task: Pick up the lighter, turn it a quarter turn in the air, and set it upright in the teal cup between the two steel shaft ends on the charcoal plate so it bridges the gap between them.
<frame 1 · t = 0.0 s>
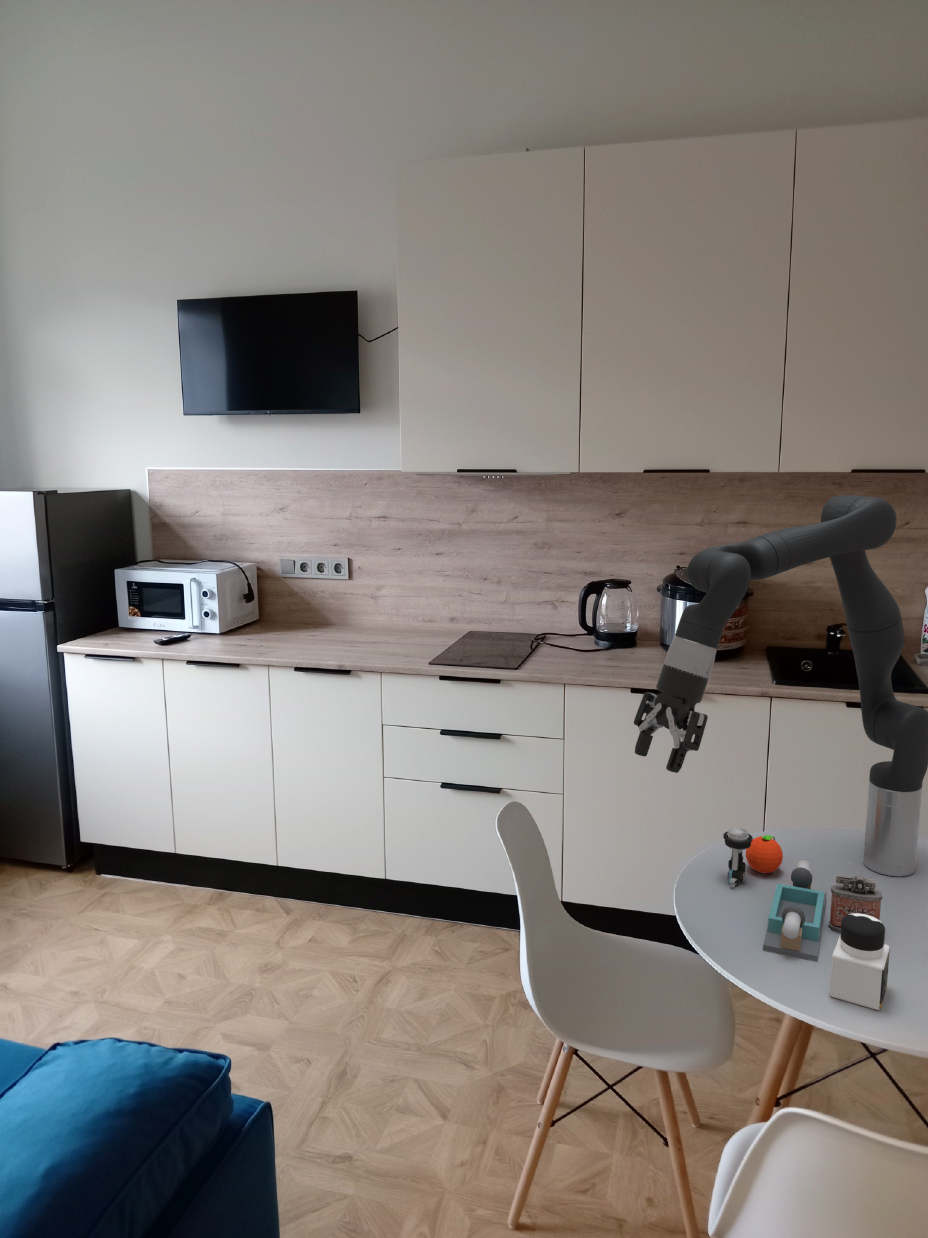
hand: (655, 763, 147), 31 cm above the table, tool tilted 20°, fingers open, 8 cm apart
clementine: (764, 871, 176), on the table
shaft cradle: (796, 923, 157), on the table
lighter: (853, 931, 154), on the table
push button: (735, 882, 171), on the table
medicine bottle: (858, 993, 137), on the table
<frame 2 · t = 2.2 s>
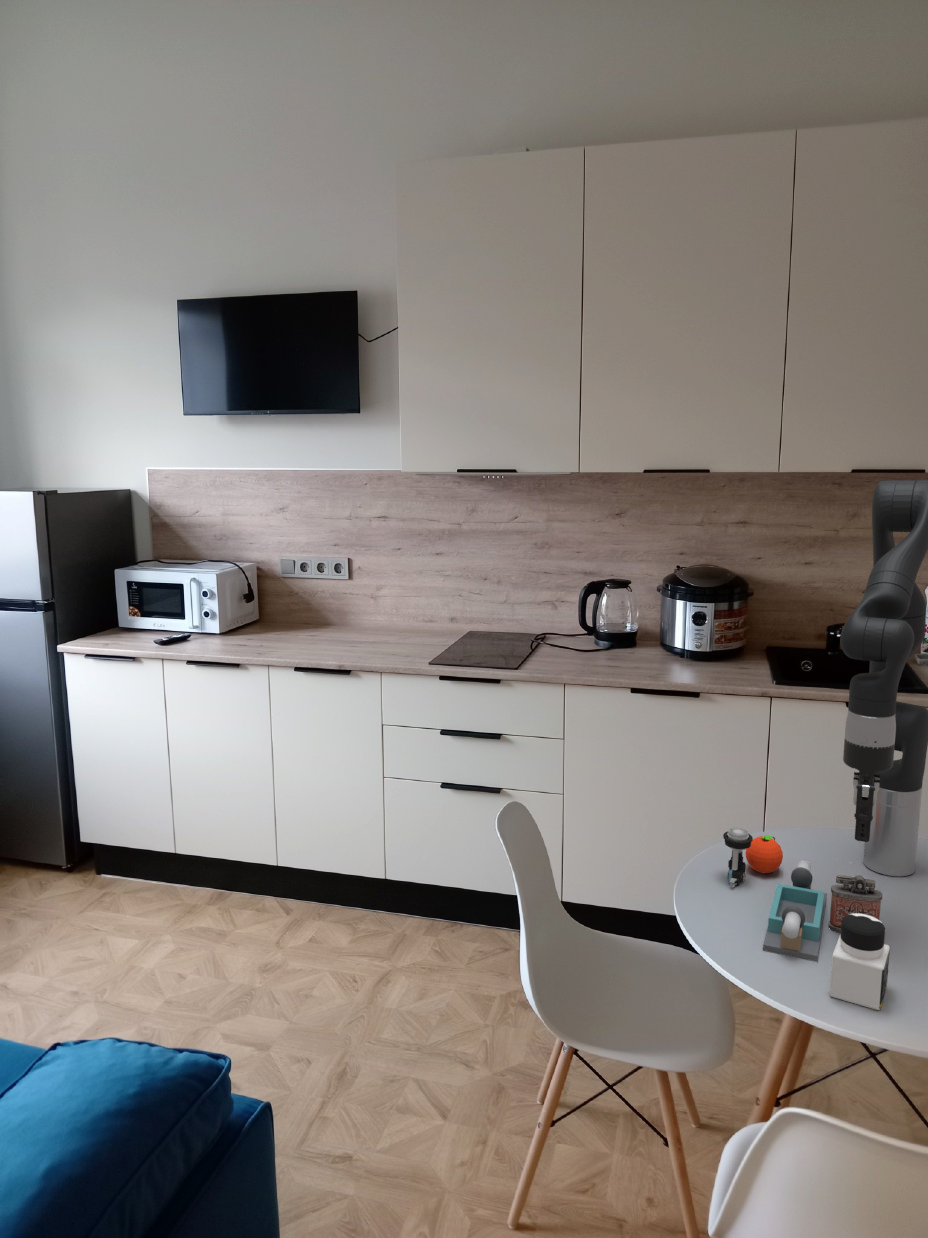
hand: (862, 830, 150), 19 cm above the table, tool pointing down, fingers open, 8 cm apart
nothing on the table moved.
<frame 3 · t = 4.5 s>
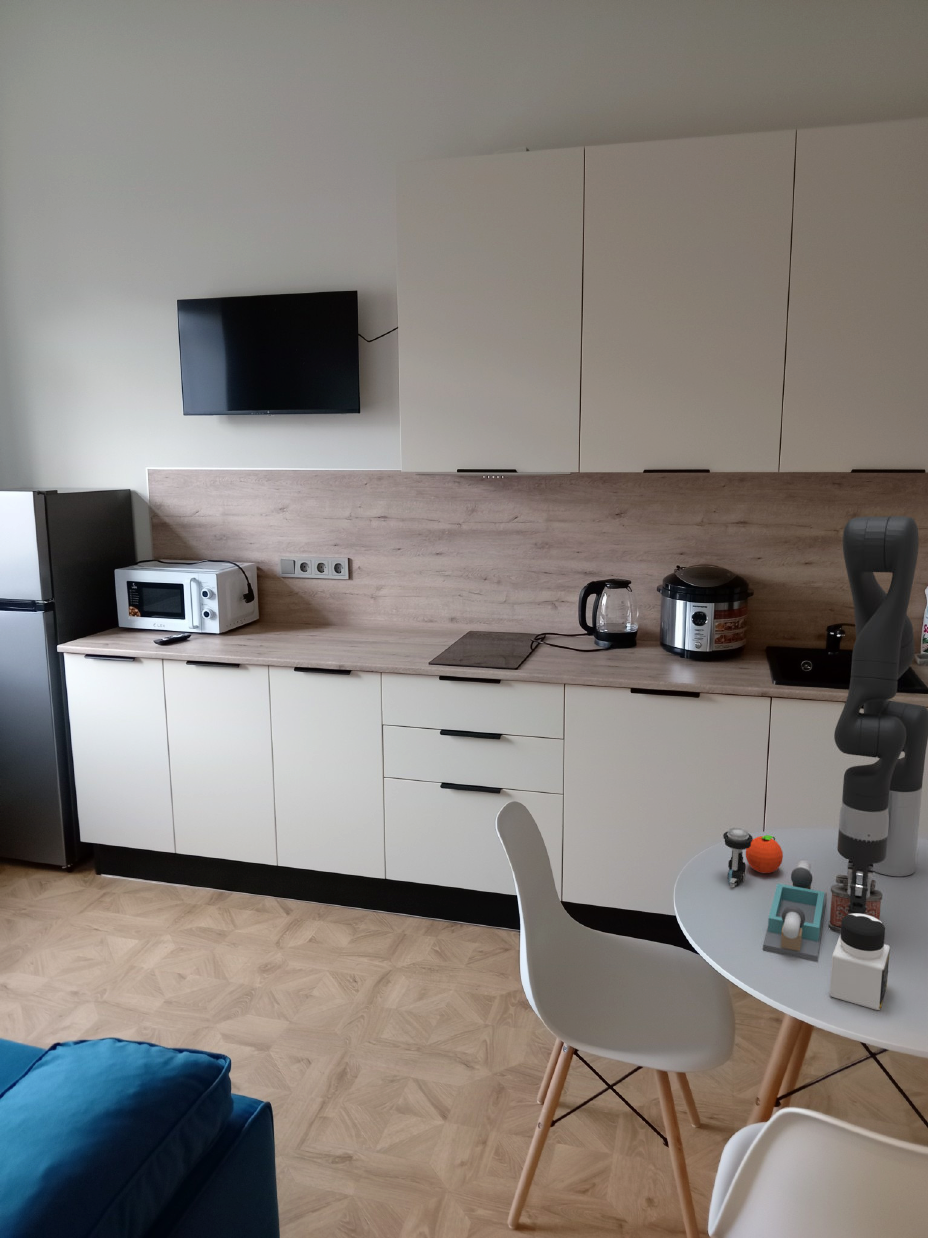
hand: (856, 922, 153), 2 cm above the table, tool pointing down, fingers closed on lighter, 3 cm apart
lighter: (853, 931, 154), on the table, touching gripper
everything else where it was.
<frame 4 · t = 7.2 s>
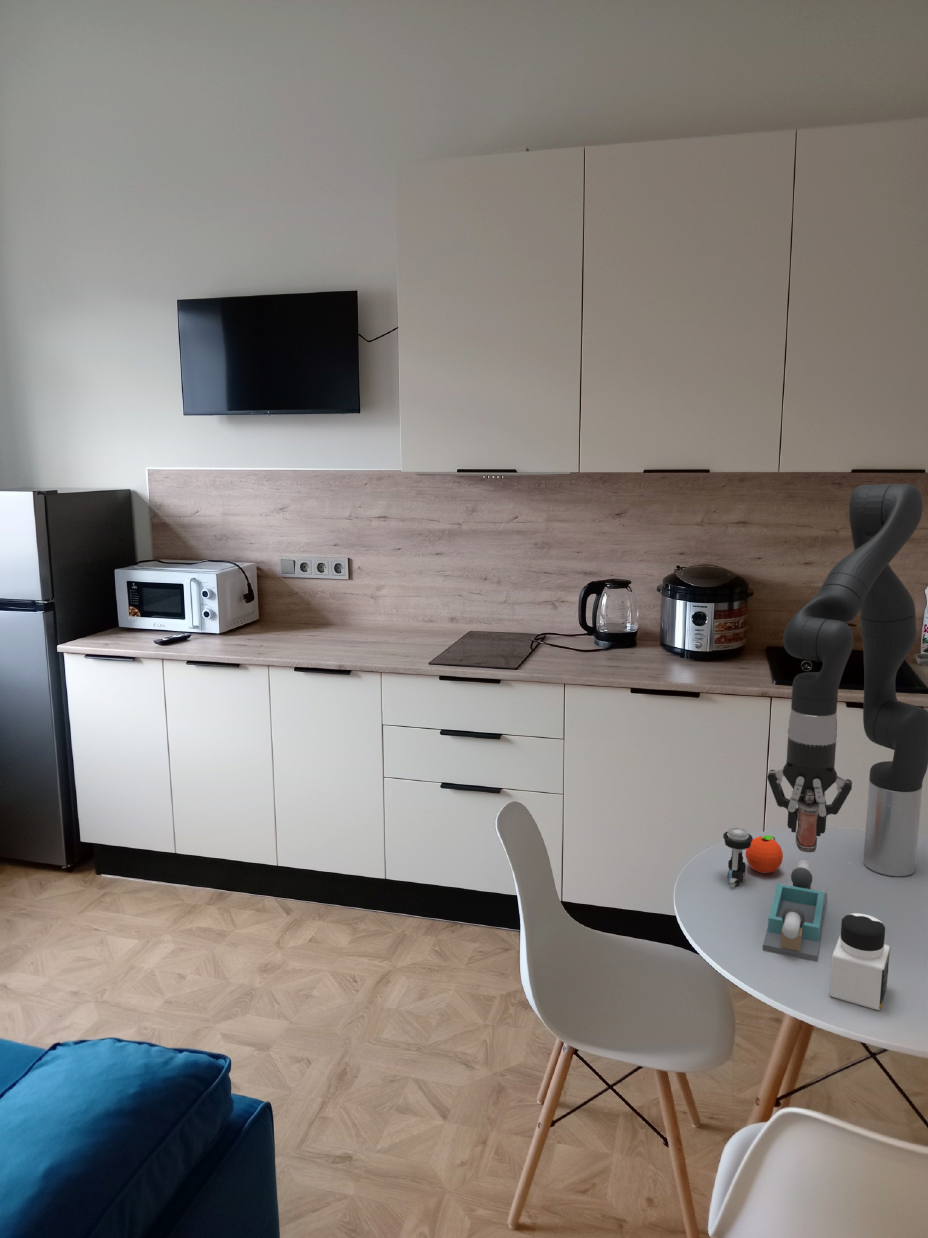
hand: (805, 832, 153), 17 cm above the table, tool pointing down, fingers closed on lighter, 3 cm apart
lighter: (806, 843, 153), point 15 cm above the table, touching gripper
everything else where it was.
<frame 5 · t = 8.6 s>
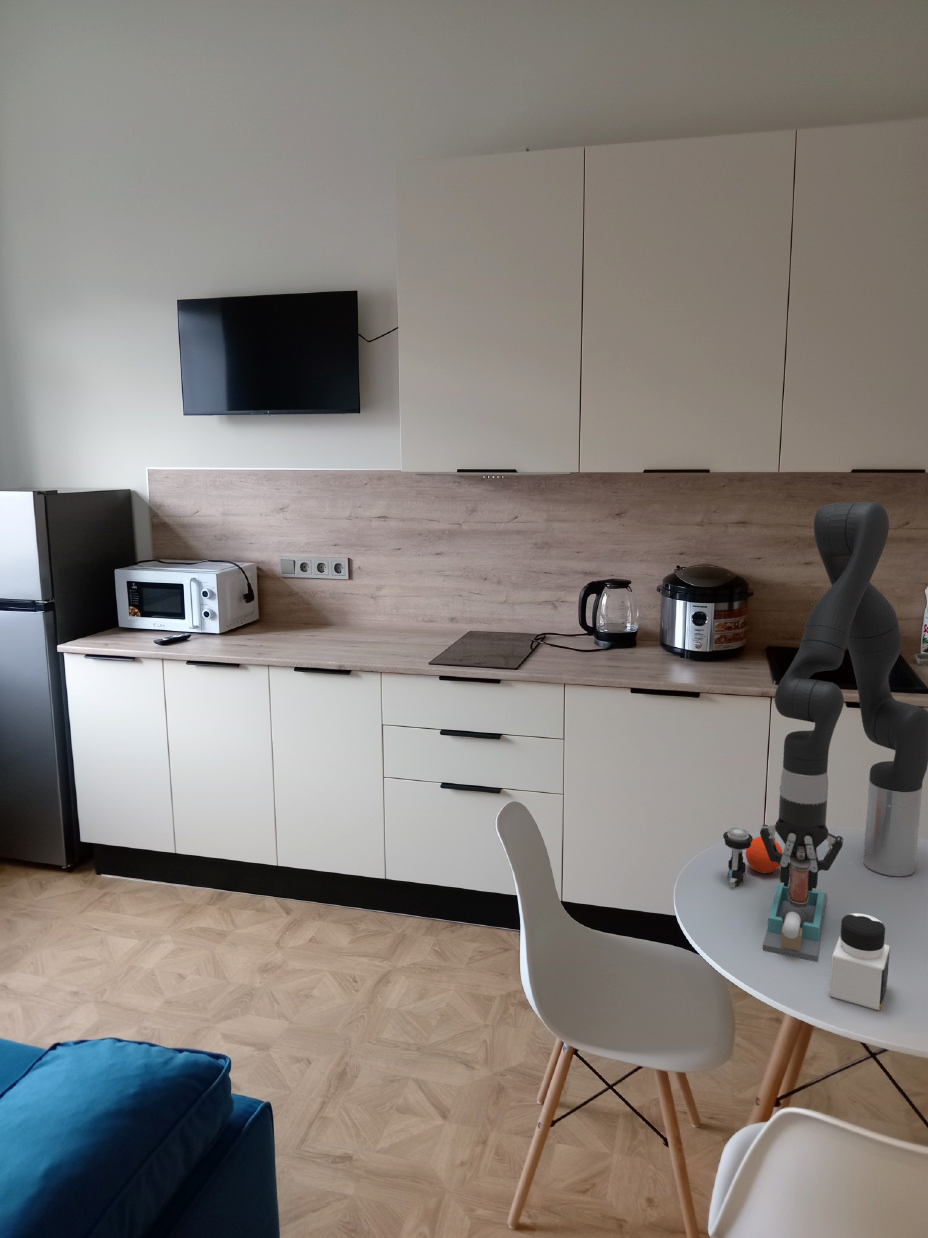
hand: (798, 886, 155), 7 cm above the table, tool pointing down, fingers closed on lighter, 3 cm apart
lighter: (798, 897, 155), point 5 cm above the table, touching gripper
everything else where it was.
when the fingers open (4 cm above the table, at t = 9.8 s): lighter drops 1 cm, resting on shaft cradle.
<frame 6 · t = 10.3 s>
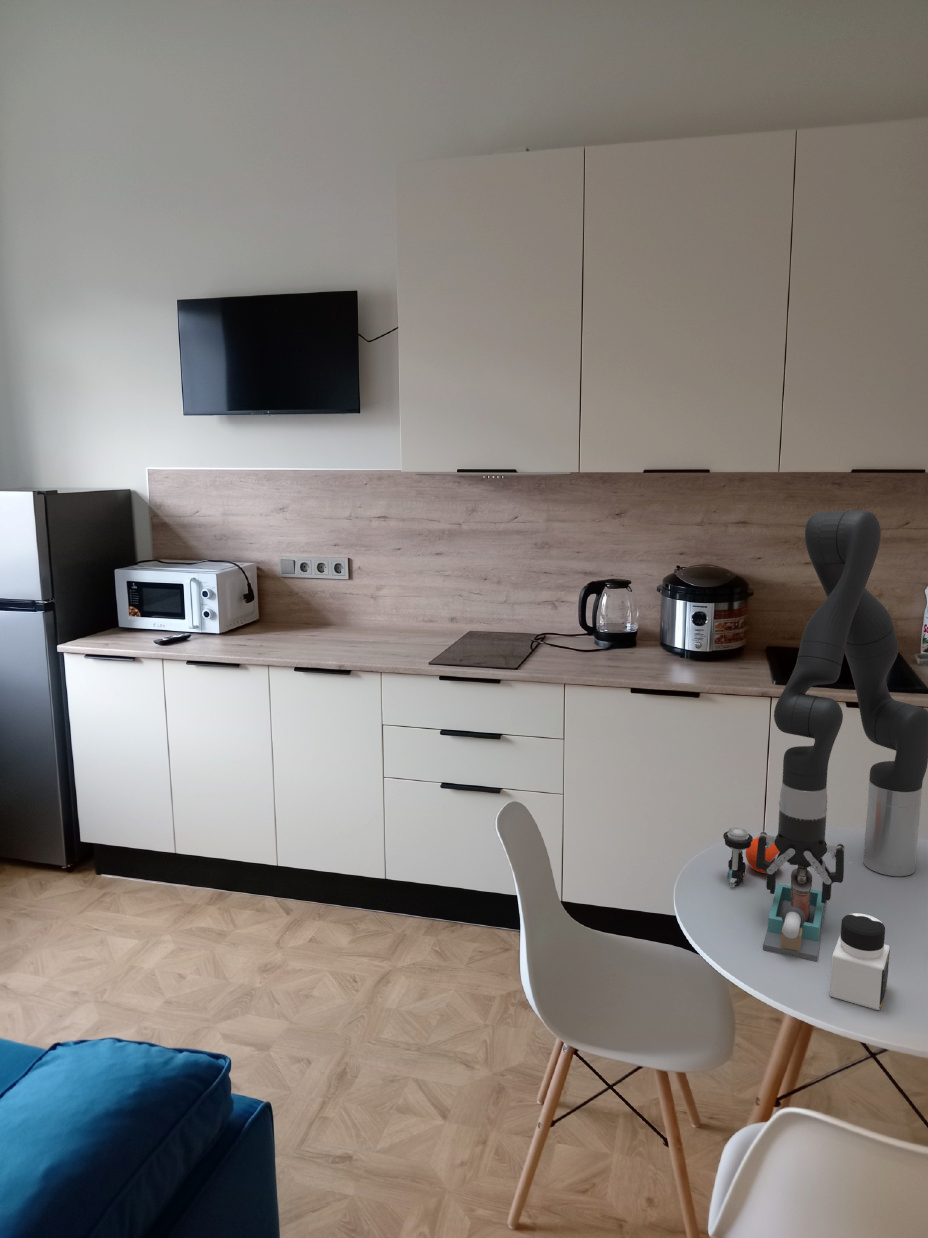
hand: (797, 896, 156), 5 cm above the table, tool pointing down, fingers open, 8 cm apart
lighter: (799, 920, 156), point 1 cm above the table, touching shaft cradle
everything else where it was.
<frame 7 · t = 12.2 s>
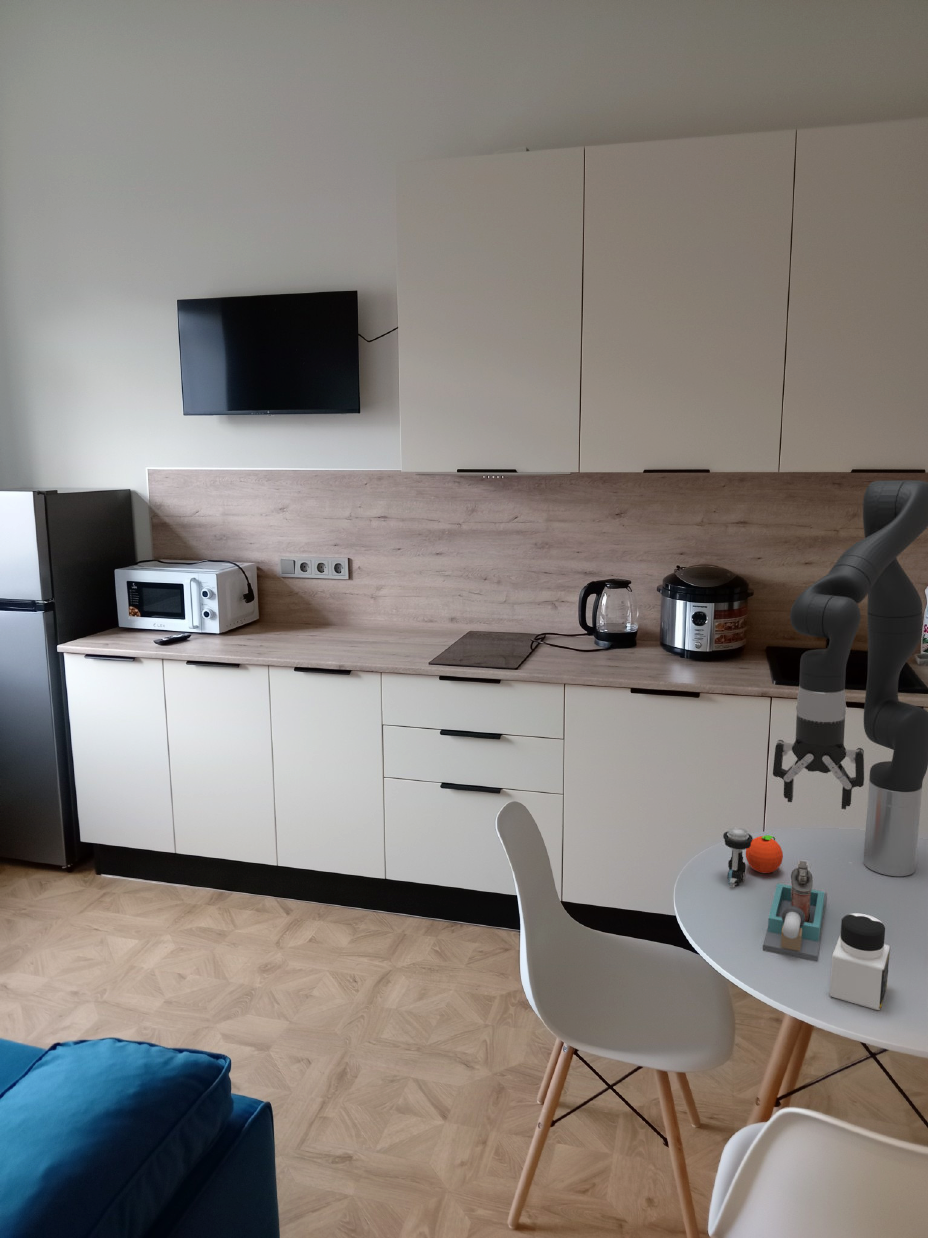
hand: (816, 804, 153), 22 cm above the table, tool pointing down, fingers open, 8 cm apart
nothing on the table moved.
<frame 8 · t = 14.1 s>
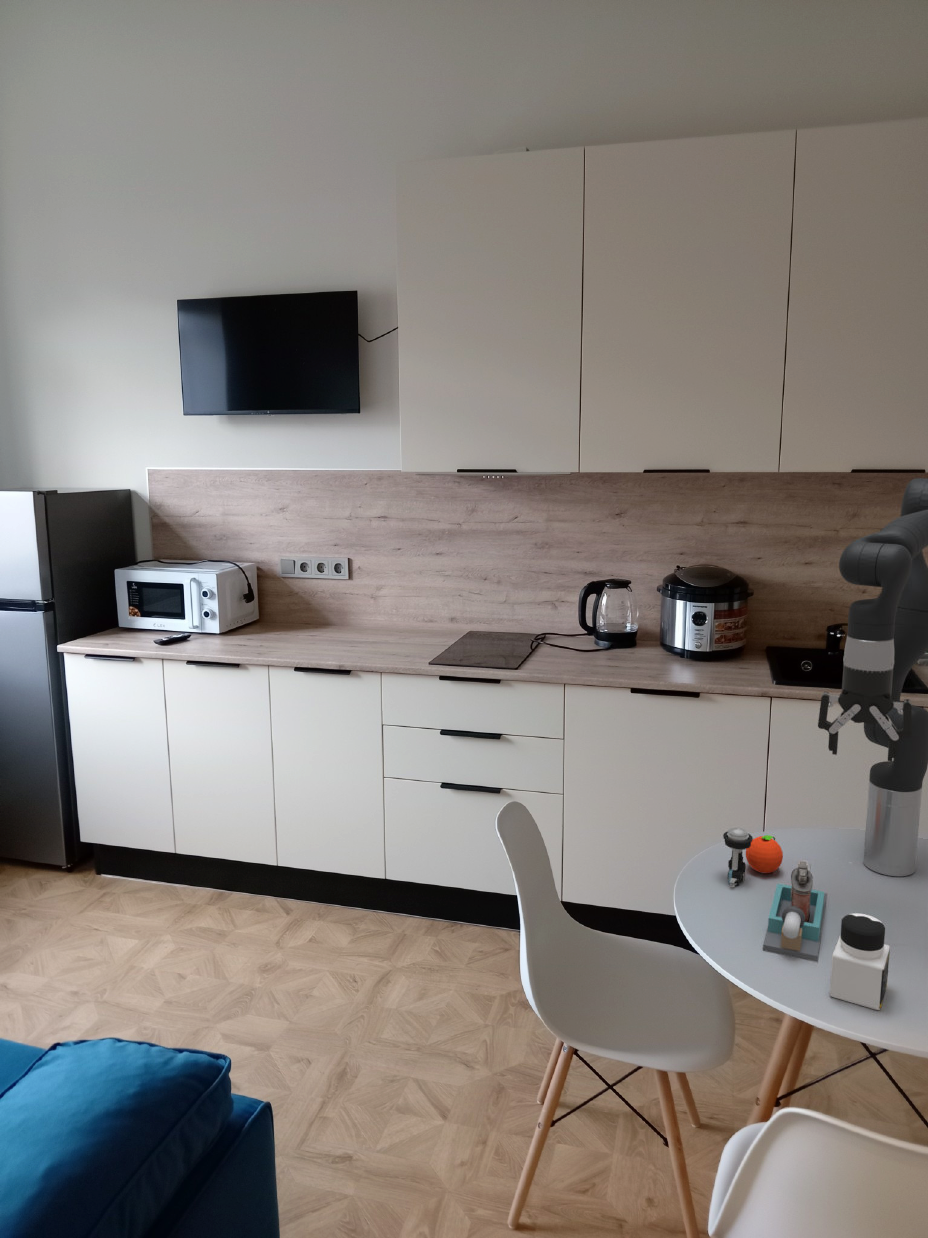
hand: (861, 756, 151), 30 cm above the table, tool pointing down, fingers open, 8 cm apart
nothing on the table moved.
at the end: lighter 0.7 cm off-centre on the shaft cradle, point 0.8 cm above the shaft cradle's base; lighter tilted 0°; the gripper is holding nothing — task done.
